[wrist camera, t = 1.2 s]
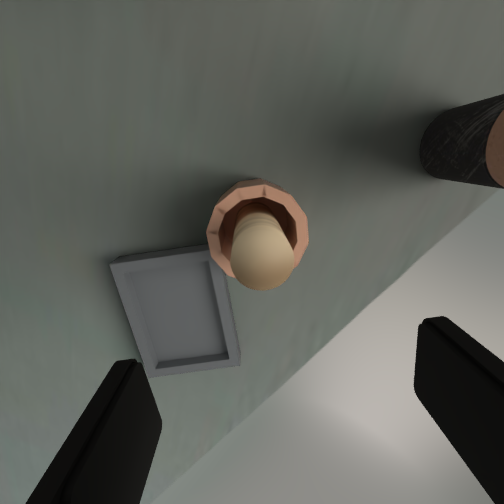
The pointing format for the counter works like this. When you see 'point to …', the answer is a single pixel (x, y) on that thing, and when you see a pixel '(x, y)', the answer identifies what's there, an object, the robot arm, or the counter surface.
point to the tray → (178, 310)
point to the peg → (260, 249)
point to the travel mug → (467, 144)
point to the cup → (249, 192)
